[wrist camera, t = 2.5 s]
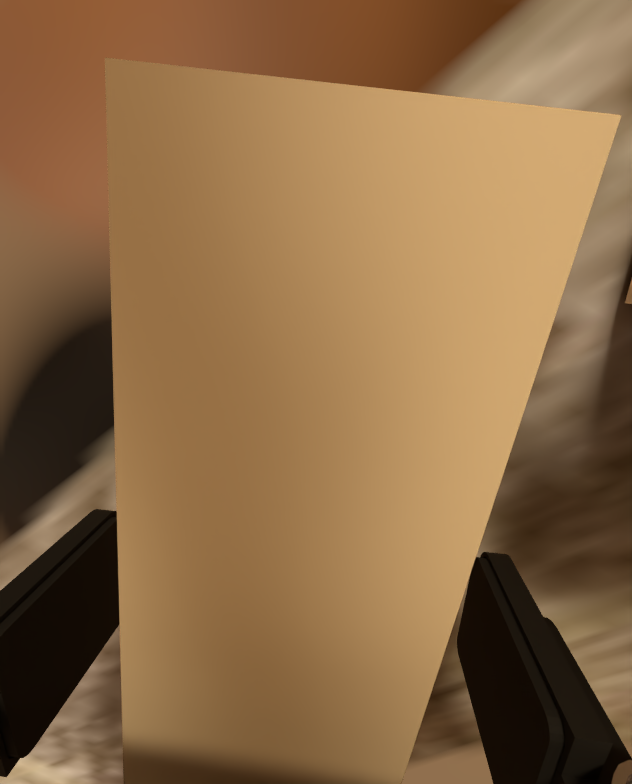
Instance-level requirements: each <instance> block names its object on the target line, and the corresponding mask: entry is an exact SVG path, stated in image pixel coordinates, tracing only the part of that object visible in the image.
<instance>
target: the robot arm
mask: <svg viewBox="0 0 632 784" xmlns="http://www.w3.org/2000/svg"><path fill="white" fill-rule="evenodd" d="M119 624H120V619H119V580H118V542H117V512H116V511H109V510H100V509H96V510H93V511H92V512H90V513H89V514H88V515H87V516H86V517H85V518H83V519H82V520H81V521H80V522H79V523H78V524H77V525H75V526H74V527H73V528H72V529H71V530H70V531H69V532H67V533H66V534H65V535H64V536H63V537H62V538H61V539H59V540H58V541H57V542H56V543H55V544H54V545H52V546H51V547H50V548H49V549H48V550H47V551H46V552H44V553H43V554H42V555H41V556H40V557H39V558H38V559H36V560H35V561H34V562H33V563H32V564H31V565H29V566H28V567H27V568H26V569H25V570H24V571H23V572H21V573H20V574H19V575H18V576H17V577H16V578H15V579H13V580H12V581H11V582H10V583H9V584H8V585H6V586H5V587H4V588H3V589H2V590H1V591H0V776H3V777H7V776H8V774H9V773H10V772H11V770H12V769H13V767H14V766H15V765H16V763H17V762H18V760H19V759H20V758H24V757H25V756H27V755H28V754H29V753H30V752H31V751H32V749H33V748H34V747H35V745H36V744H37V742H38V741H39V740H40V738H41V737H42V735H43V734H44V732H45V731H46V729H47V728H48V727H49V725H50V724H51V722H52V721H53V719H54V718H55V716H56V715H57V714H58V712H59V711H60V709H61V708H62V706H63V705H64V703H65V702H66V701H67V699H68V698H69V696H70V695H71V693H72V692H73V690H74V689H75V687H76V686H77V685H78V683H79V682H80V680H81V679H82V677H83V676H84V674H85V673H86V672H87V670H88V669H89V667H90V666H91V664H92V663H93V661H94V660H95V659H96V657H97V656H98V654H99V653H100V651H101V650H102V648H103V647H104V646H105V644H106V643H107V641H108V640H109V638H110V637H111V635H112V634H113V633H114V631H115V630H116V628H117V627H118V625H119ZM457 648H458V654H459V658H460V662H461V666H462V669H463V673H464V677H465V680H466V684H467V688H468V691H469V695H470V699H471V703H472V706H473V710H474V714H475V717H476V721H477V725H478V728H479V732H480V736H481V739H482V743H483V747H484V751H485V754H486V758H487V761H488V765H489V769H490V772H491V776H492V780H493V784H632V758H631V756H630V755H629V753H628V751H627V750H626V748H625V746H624V744H623V743H622V741H621V739H620V737H619V736H618V734H617V732H616V730H615V729H614V727H613V725H612V723H611V722H610V720H609V718H608V716H607V715H606V713H605V711H604V709H603V708H602V706H601V704H600V702H599V701H598V699H597V697H596V696H595V694H594V692H593V690H592V689H591V687H590V685H589V683H588V682H587V680H586V678H585V676H584V675H583V673H582V671H581V669H580V668H579V666H578V664H577V662H576V661H575V659H574V657H573V655H572V654H571V652H570V650H569V648H568V647H567V645H566V643H565V642H564V640H563V638H562V636H561V635H560V633H559V631H558V629H557V628H556V626H555V625H554V623H553V622H552V621H551V620H549V619H548V618H544V617H543V616H542V614H541V612H540V610H539V609H538V607H537V605H536V603H535V601H534V599H533V598H532V596H531V594H530V592H529V590H528V589H527V587H526V585H525V583H524V581H523V580H522V578H521V576H520V574H519V572H518V571H517V569H516V567H515V565H514V563H513V561H512V560H511V558H510V557H509V556H508V555H507V554H498V553H489V552H483V553H482V554H481V557H480V558H479V557H476V558H475V561H474V564H473V567H472V570H471V574H470V579H469V584H468V589H467V594H466V598H465V603H464V608H463V613H462V618H461V622H460V627H459V632H458V637H457Z"/></svg>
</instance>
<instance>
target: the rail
mask: <svg viewBox="0 0 632 784" xmlns="http://www.w3.org/2000/svg"><path fill="white" fill-rule="evenodd" d="M105 76H106V77H105V79H106V117H107V155H108V194H109V228H110V229H109V231H110V232H109V233H110V272H111V306H112V307H111V308H112V309H111V310H112V349H113V388H114V426H115V465H116V503H117V542H118V580H119V619H120V658H121V696H122V735H123V773H124V784H401V783H402V780H403V777H404V774H405V771H406V768H407V765H408V762H409V759H410V756H411V753H412V750H413V747H414V744H415V740H416V737H417V734H418V731H419V728H420V725H421V722H422V719H423V716H424V713H425V710H426V707H427V704H428V701H429V698H430V695H431V692H432V689H433V686H434V683H435V680H436V677H437V674H438V671H439V668H440V665H441V662H442V658H443V655H444V652H445V649H446V646H447V643H448V640H449V637H450V634H451V631H452V628H453V625H454V622H455V619H456V616H457V613H458V610H459V607H460V604H461V601H462V598H463V595H464V592H465V589H466V586H467V583H468V580H469V576H470V573H471V570H472V567H473V564H474V561H475V558H476V555H477V552H478V549H479V546H480V543H481V540H482V537H483V534H484V531H485V528H486V525H487V522H488V519H489V516H490V513H491V510H492V507H493V504H494V501H495V498H496V494H497V491H498V488H499V485H500V482H501V479H502V476H503V473H504V470H505V467H506V464H507V461H508V458H509V455H510V452H511V449H512V446H513V443H514V440H515V437H516V434H517V431H518V428H519V425H520V422H521V419H522V416H523V412H524V409H525V406H526V403H527V400H528V397H529V394H530V391H531V388H532V385H533V382H534V379H535V376H536V373H537V370H538V367H539V364H540V361H541V358H542V355H543V352H544V349H545V346H546V343H547V340H548V337H549V334H550V330H551V327H552V324H553V321H554V318H555V315H556V312H557V309H558V306H559V303H560V300H561V297H562V294H563V291H564V288H565V285H566V282H567V279H568V276H569V273H570V270H571V267H572V264H573V261H574V258H575V255H576V252H577V248H578V245H579V242H580V239H581V236H582V233H583V230H584V227H585V224H586V221H587V218H588V215H589V212H590V209H591V206H592V203H593V200H594V197H595V194H596V191H597V188H598V185H599V182H600V179H601V176H602V173H603V170H604V166H605V163H606V160H607V157H608V154H609V151H610V148H611V145H612V142H613V139H614V136H615V133H616V130H617V127H618V124H619V121H620V118H621V115H614V114H605V113H596V112H587V111H578V110H569V109H560V108H551V107H542V106H533V105H524V104H515V103H506V102H497V101H488V100H480V99H471V98H462V97H453V96H444V95H435V94H426V93H417V92H407V91H398V90H390V89H381V88H372V87H363V86H353V85H345V84H335V83H327V82H318V81H309V80H300V79H291V78H282V77H273V76H264V75H255V74H246V73H237V72H228V71H219V70H210V69H201V68H192V67H183V66H174V65H165V64H156V63H147V62H138V61H129V60H120V59H111V58H105Z"/></svg>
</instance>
